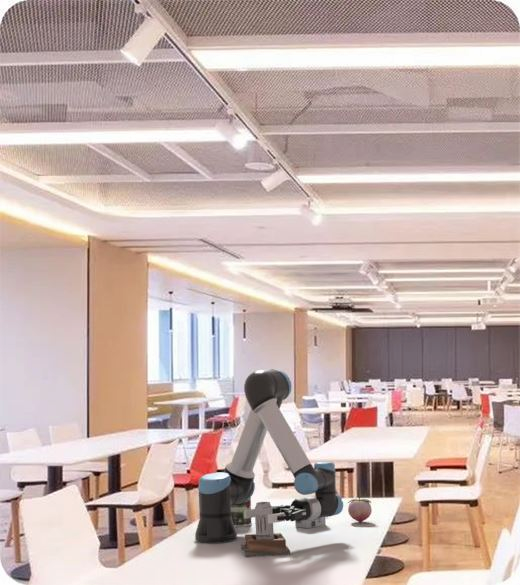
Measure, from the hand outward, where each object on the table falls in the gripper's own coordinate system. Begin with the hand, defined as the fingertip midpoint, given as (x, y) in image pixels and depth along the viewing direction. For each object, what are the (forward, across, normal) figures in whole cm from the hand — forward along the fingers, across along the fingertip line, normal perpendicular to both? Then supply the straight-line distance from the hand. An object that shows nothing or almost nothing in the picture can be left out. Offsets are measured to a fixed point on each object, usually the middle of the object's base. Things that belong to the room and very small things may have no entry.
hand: (256, 516), depth 337 cm
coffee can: (-26, +48, -12) cm, 56 cm away
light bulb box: (-45, +26, -12) cm, 53 cm away
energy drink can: (-3, 0, -11) cm, 11 cm away
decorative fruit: (-63, +18, -12) cm, 67 cm away
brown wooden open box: (-3, 0, -12) cm, 12 cm away
